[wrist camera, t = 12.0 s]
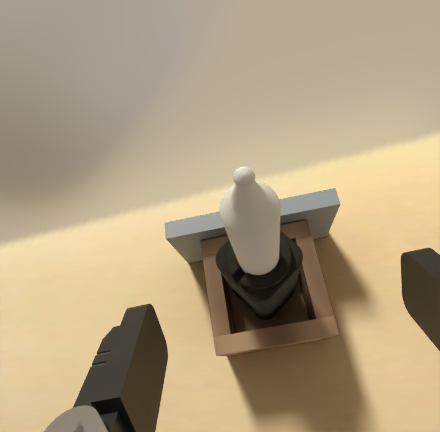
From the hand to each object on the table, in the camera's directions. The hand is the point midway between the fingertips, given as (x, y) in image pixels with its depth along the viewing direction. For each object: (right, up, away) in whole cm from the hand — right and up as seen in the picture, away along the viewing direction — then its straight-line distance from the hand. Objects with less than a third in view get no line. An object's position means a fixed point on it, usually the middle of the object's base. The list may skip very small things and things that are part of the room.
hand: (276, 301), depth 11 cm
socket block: (+3, -6, +26) cm, 27 cm away
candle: (+3, -5, +25) cm, 26 cm away
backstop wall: (+2, 0, +29) cm, 29 cm away
